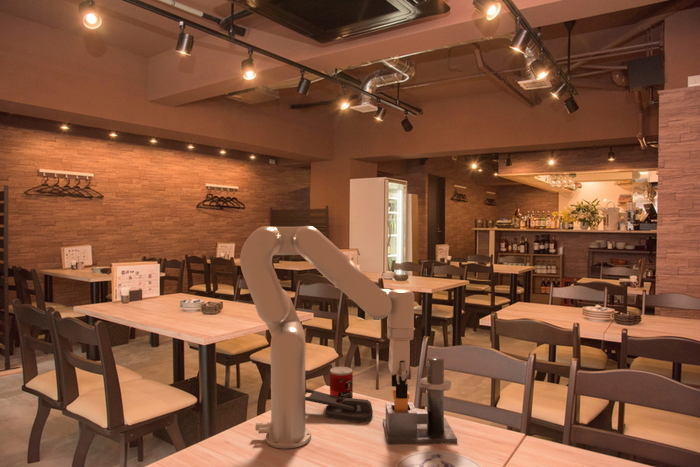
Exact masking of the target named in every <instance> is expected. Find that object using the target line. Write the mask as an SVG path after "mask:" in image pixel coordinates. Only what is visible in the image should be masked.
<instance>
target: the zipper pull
mask: <svg viewBox="0 0 700 467" xmlns="http://www.w3.org/2000/svg"><path fill="white" fill-rule="evenodd" d="M305 393H307V394H308V393H309V394H310V395H309V396H305V402H311V403H316V404H321V405H326V407H325V417H326V419H329V420H335V421H336V420H337V421H343V422H350V423H357V424H360V423H361V424H362V423H368V422H370V421H372V418H373V413H374V412H373V406H372V402H371V401H370V400H368V399H364V398H340V397H336V396H333V395H330V393H329V394H328V393H325V392H321V391H317V390H314V389H310V388H306V387H305ZM337 401H340V402H342V404H340V403H336V402H337Z"/></svg>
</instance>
